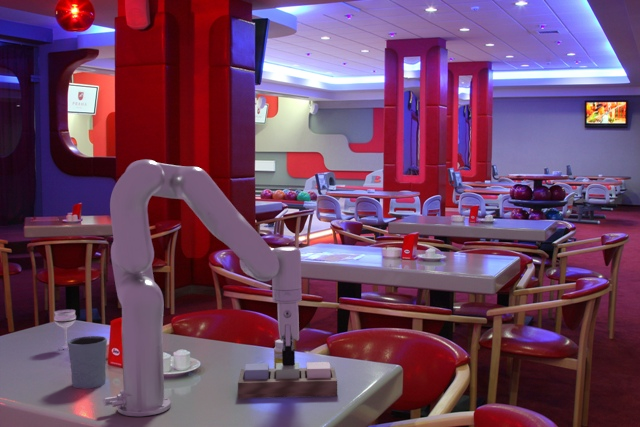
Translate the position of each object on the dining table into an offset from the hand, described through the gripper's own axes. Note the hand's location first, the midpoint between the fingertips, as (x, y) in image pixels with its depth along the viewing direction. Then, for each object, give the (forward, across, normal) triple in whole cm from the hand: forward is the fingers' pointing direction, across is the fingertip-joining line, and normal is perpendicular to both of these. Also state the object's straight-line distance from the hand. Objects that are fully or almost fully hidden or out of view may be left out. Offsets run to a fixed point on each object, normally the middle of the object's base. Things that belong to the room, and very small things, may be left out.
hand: (288, 364), depth 187 cm
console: (+7, 0, 0) cm, 7 cm away
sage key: (+4, 0, 0) cm, 4 cm away
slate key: (+4, 0, +8) cm, 9 cm away
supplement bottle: (+7, +19, +2) cm, 20 cm away
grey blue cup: (+6, +9, +54) cm, 55 cm away
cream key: (+4, 0, -8) cm, 9 cm away
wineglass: (+6, +48, +72) cm, 87 cm away
